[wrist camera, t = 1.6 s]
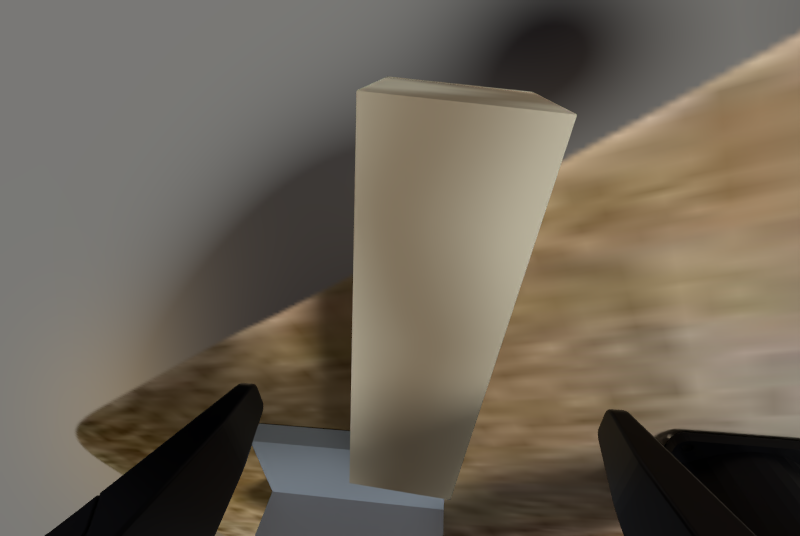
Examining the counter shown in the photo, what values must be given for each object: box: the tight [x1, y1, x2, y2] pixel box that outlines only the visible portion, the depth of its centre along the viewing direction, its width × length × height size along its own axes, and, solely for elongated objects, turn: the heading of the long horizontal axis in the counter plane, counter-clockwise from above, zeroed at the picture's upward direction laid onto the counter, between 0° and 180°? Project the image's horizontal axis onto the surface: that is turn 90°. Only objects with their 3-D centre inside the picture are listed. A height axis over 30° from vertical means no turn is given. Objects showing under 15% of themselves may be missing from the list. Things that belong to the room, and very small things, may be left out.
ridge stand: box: [252, 424, 444, 536], centre depth 20 cm, size 10×12×4 cm
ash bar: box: [349, 77, 577, 500], centre depth 12 cm, size 4×14×4 cm, turn 175°
